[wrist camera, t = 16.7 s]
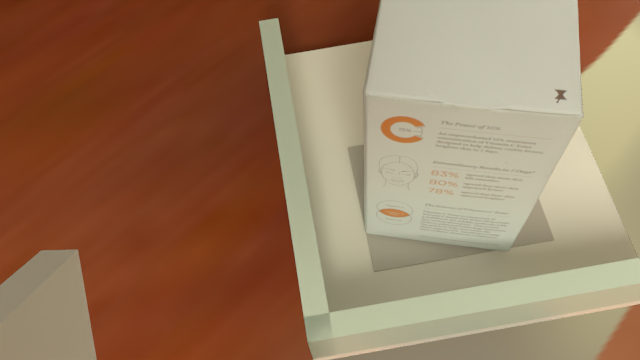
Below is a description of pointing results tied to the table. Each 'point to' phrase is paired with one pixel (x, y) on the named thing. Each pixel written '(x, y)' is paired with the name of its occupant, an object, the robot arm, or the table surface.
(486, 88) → the small box
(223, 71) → the table surface
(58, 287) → the robot arm
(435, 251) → the tray
